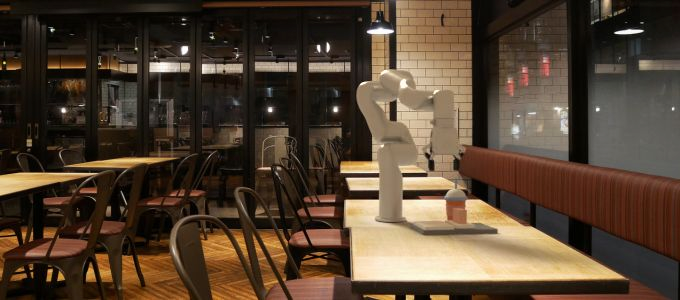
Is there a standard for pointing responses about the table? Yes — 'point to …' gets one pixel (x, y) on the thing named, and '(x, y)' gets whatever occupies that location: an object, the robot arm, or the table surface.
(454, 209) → the salmon brown block
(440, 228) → the grey flat block
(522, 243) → the table surface
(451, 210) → the cup with straw
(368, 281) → the table surface
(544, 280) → the table surface
